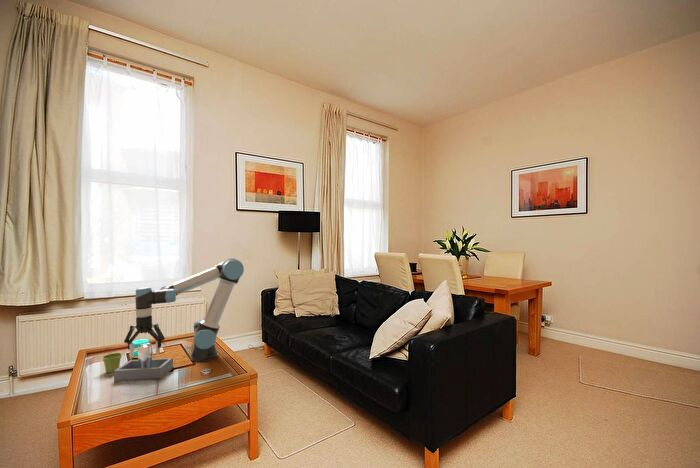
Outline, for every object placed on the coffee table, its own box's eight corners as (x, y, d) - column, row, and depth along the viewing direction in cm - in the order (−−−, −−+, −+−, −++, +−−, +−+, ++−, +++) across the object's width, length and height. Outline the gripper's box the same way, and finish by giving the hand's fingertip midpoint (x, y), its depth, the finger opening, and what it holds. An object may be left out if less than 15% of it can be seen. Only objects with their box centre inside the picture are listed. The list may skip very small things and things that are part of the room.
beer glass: (142, 370, 184) (142, 343, 185) (155, 369, 185) (155, 343, 185) (135, 375, 178) (135, 347, 178) (149, 375, 178) (148, 347, 178)
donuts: (135, 344, 204) (128, 341, 210) (135, 360, 204) (128, 357, 209) (152, 340, 212) (145, 337, 218) (152, 355, 212) (145, 352, 218)
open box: (173, 368, 190) (172, 357, 190) (160, 379, 175) (160, 368, 175) (130, 370, 188) (130, 360, 188) (113, 382, 173) (113, 370, 173)
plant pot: (126, 368, 191) (126, 353, 191) (109, 375, 182) (109, 359, 182) (114, 366, 194) (114, 352, 194) (98, 373, 185) (98, 357, 185)
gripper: (170, 313, 187) (171, 350, 187) (124, 315, 184) (124, 353, 184) (164, 316, 179) (165, 355, 179) (115, 318, 177) (116, 358, 177)
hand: (144, 354), depth 182 cm, fingers open, 13 cm apart
